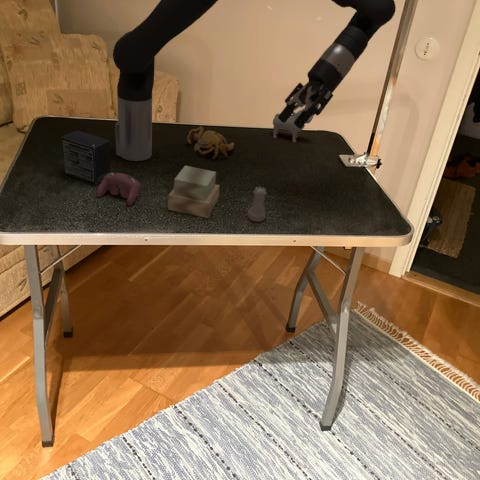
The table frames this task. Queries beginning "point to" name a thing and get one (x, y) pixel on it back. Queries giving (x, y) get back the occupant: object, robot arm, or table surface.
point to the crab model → (209, 141)
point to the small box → (86, 156)
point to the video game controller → (123, 180)
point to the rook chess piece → (257, 205)
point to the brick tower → (194, 192)
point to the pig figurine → (288, 125)
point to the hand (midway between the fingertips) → (288, 123)
